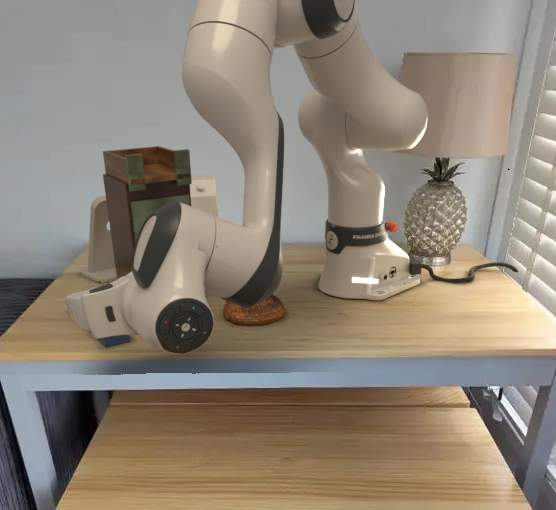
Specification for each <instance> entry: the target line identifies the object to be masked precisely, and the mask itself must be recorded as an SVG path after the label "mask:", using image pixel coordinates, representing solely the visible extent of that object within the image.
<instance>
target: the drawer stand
mask: <svg viewBox="0 0 556 510" xmlns="http://www.w3.org/2000/svg"><path fill="white" fill-rule="evenodd" d="M190 153H191V152H190V149H188V148H186V149H170V148H166V147H164V146H160V145H155V146H146V147H133V148H124V149H123V148H122V149H112V150H111V149H110V150H103V151H102V156H103V163H104V171H105V173H102V178H103V179H102V180H103V185H104V186H103V187H104V193H105V196H106V201H107V209H108V216H109V222H108V224H109V230H110V231H111V238H112V245H113V253H114V260H115V267H116V275H117V279H119V278H121V277H123V276H126V275H127V274H128V273H130V272H132V268H131V262H132V255H133V250H134V246H135V242H136V239H137V236H138V234H139V231H140V229H141V227H142V225H143V223H144V222H145V220H146V219H147V218H148V217H149V216H150V215H151V214H152V213H153V212H155V211H156V210H157V209H159V208H160V207H162V206H164V205H165V204H168V203H170V202H174V201H178V202H180V203H183V204H186V205H189V206H191V195H190V184H192V180H191V176H192V169H191V155H190Z"/></svg>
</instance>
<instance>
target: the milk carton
mask: <svg viewBox="0 0 556 510" xmlns="http://www.w3.org/2000/svg"><path fill="white" fill-rule="evenodd" d="M191 180H192V184H190V195H191V206H192V207H194V208H197V209H200V210H202V211H205V212H208V213H210V214H212V215H214V216H216V217H219V206H218V191H217V184H216V174H197V175H195V174H194V175H191Z"/></svg>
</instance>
